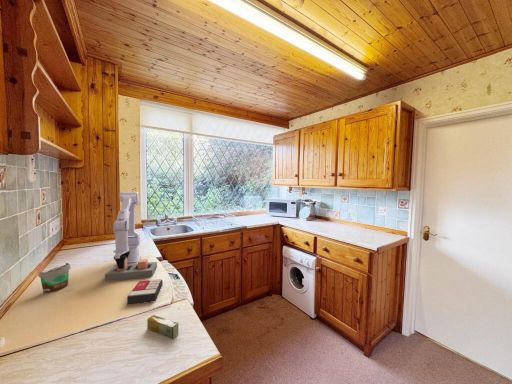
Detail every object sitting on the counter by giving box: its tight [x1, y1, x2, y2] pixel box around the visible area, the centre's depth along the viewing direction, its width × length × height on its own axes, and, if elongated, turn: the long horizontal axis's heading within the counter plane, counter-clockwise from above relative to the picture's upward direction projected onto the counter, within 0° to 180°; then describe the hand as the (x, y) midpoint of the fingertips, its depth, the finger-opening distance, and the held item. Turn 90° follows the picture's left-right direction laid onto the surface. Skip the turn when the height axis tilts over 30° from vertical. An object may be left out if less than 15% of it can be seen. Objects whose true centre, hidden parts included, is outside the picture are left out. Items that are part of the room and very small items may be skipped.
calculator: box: [126, 278, 164, 306], centre depth 97 cm, size 11×4×15 cm
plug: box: [115, 257, 128, 271], centre depth 116 cm, size 4×4×6 cm
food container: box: [38, 262, 72, 294], centre depth 102 cm, size 12×6×10 cm, turn 168°
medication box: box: [146, 314, 179, 340], centre depth 73 cm, size 12×3×4 cm, turn 68°
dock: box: [104, 258, 158, 282], centre depth 117 cm, size 12×22×7 cm, turn 104°
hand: (122, 266), depth 116 cm, fingers closed on plug, 4 cm apart
